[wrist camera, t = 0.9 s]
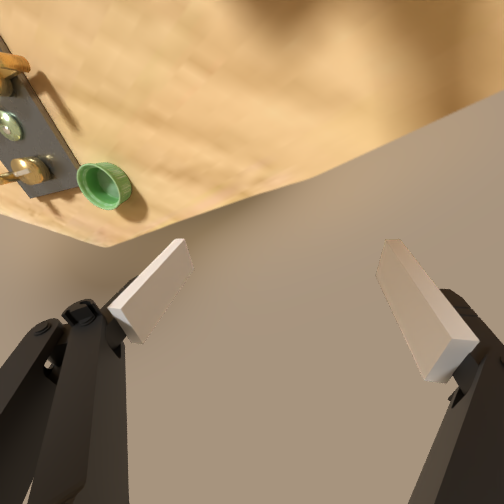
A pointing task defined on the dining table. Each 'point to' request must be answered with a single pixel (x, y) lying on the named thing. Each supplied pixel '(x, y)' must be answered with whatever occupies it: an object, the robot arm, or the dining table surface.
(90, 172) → the ramekin
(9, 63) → the knob
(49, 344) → the robot arm
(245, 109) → the dining table surface
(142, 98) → the dining table surface
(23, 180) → the knob
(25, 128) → the control panel
